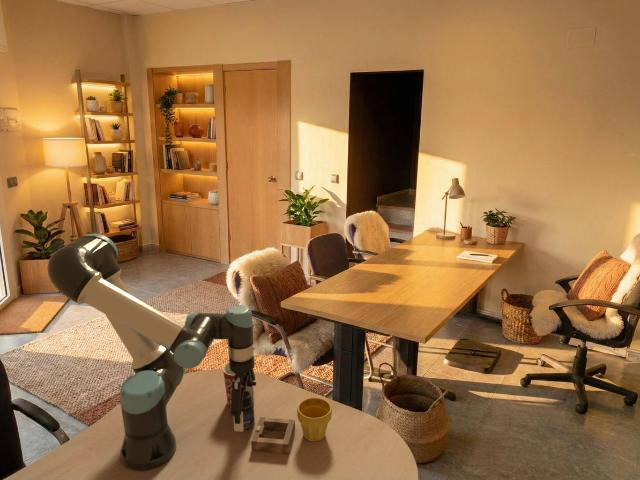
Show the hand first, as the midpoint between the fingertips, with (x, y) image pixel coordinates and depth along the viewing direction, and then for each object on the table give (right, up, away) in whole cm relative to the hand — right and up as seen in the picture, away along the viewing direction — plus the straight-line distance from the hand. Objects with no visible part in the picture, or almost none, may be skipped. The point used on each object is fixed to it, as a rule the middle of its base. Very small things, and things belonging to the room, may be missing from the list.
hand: (244, 416), depth 153 cm
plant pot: (+22, -4, -3) cm, 23 cm away
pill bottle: (0, -3, +1) cm, 3 cm away
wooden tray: (+10, -5, -6) cm, 12 cm away
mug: (-4, +1, +14) cm, 15 cm away
